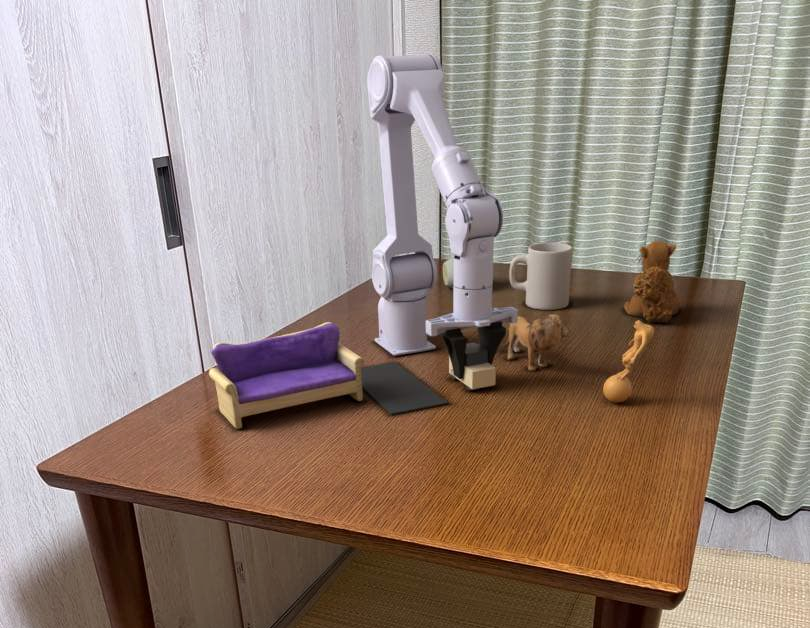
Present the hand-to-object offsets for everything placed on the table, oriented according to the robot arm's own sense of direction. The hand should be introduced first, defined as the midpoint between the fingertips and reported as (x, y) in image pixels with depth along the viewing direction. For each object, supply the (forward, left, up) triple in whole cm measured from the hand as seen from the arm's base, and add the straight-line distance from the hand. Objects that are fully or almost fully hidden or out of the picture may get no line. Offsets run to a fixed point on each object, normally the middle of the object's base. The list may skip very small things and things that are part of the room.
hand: (471, 374), depth 125 cm
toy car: (0, 0, -1) cm, 1 cm away
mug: (-33, +32, -2) cm, 46 cm away
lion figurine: (-4, +13, -2) cm, 14 cm away
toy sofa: (-4, -28, -2) cm, 28 cm away
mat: (-4, -11, -2) cm, 12 cm away
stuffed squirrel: (-15, +46, -2) cm, 48 cm away
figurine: (+17, +16, -2) cm, 23 cm away
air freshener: (-52, +25, -2) cm, 58 cm away
